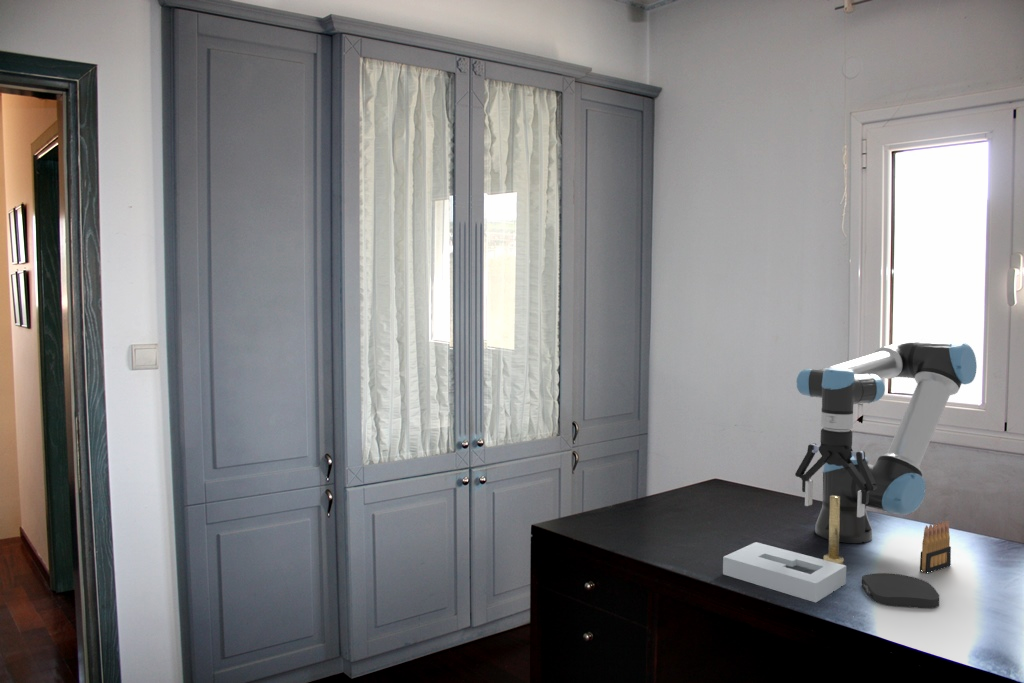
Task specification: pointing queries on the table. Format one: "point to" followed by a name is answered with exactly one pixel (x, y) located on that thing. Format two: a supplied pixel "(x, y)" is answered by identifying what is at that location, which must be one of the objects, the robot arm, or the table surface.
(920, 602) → the media streaming box
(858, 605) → the table surface
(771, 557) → the keyhole plate
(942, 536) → the ammunition clip
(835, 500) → the brass peg
